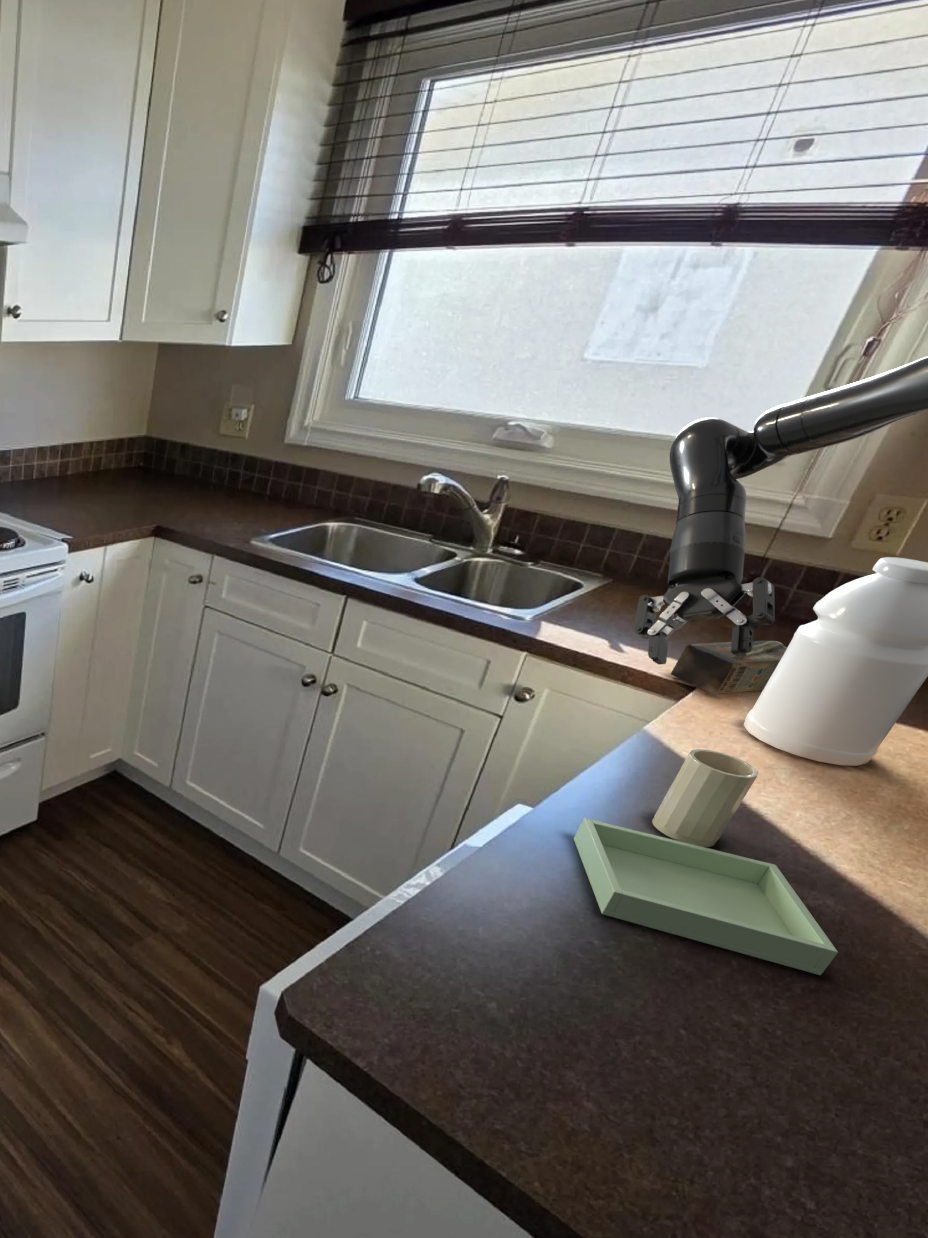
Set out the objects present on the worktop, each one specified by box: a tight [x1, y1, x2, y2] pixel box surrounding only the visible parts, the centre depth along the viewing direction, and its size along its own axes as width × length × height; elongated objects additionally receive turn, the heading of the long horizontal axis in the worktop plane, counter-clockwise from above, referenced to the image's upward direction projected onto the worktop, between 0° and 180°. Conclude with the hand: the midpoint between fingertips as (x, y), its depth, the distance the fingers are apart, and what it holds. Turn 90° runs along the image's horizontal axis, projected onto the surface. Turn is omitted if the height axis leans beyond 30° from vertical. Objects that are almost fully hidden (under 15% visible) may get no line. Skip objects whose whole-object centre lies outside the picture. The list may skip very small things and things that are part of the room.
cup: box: [651, 748, 759, 848], centre depth 96 cm, size 6×6×10 cm
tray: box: [573, 817, 839, 976], centre depth 86 cm, size 18×15×3 cm
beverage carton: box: [670, 640, 788, 695], centre depth 136 cm, size 8×19×7 cm, turn 102°
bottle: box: [743, 556, 928, 767], centre depth 113 cm, size 14×14×28 cm
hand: (697, 659), depth 109 cm, fingers open, 8 cm apart
